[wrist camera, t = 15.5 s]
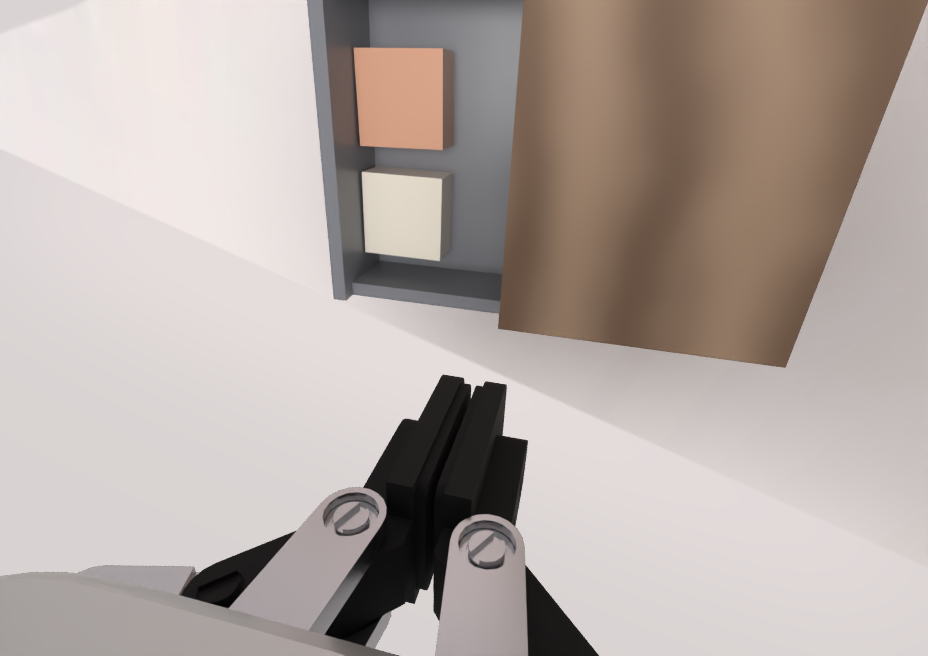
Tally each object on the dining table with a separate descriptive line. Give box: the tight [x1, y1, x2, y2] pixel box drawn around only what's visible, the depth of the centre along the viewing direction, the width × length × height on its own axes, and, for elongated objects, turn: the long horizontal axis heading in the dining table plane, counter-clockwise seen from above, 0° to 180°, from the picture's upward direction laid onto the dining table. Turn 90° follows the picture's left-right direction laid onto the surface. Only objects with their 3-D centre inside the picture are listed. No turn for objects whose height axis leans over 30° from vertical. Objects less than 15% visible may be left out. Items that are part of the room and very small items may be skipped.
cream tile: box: [362, 166, 453, 261], centre depth 31 cm, size 5×5×2 cm
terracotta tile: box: [354, 48, 454, 150], centre depth 28 cm, size 5×5×2 cm
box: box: [307, 0, 524, 313], centre depth 28 cm, size 10×17×6 cm, turn 177°
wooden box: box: [498, 0, 928, 368], centre depth 25 cm, size 14×16×8 cm
